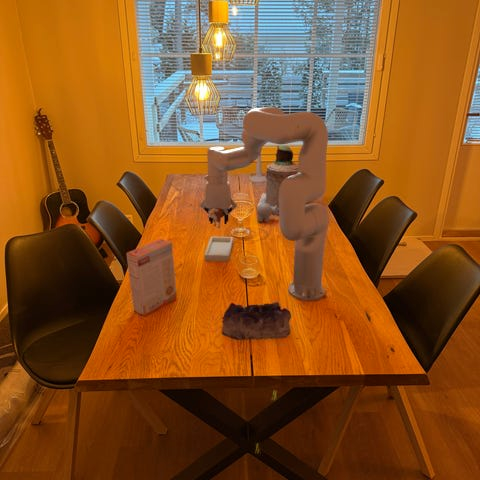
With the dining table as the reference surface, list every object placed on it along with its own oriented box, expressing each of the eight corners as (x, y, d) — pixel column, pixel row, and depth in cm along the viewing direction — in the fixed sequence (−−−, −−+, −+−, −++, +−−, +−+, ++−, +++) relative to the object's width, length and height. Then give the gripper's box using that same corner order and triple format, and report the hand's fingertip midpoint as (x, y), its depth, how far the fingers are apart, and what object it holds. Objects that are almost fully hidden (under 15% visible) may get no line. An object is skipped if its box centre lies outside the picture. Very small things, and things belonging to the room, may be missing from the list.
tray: (228, 261, 174) (228, 255, 173) (204, 260, 174) (204, 255, 173) (233, 242, 191) (233, 237, 190) (211, 241, 191) (211, 236, 190)
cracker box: (165, 293, 151) (160, 237, 143) (177, 299, 148) (173, 242, 139) (132, 310, 141) (125, 251, 133) (144, 317, 138) (138, 257, 129)
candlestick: (259, 176, 291) (260, 130, 279) (272, 180, 282) (274, 132, 270) (244, 179, 283) (244, 132, 271) (258, 183, 274) (258, 135, 262)
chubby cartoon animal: (282, 223, 211) (283, 206, 208) (256, 223, 212) (256, 206, 208) (281, 218, 218) (282, 201, 215) (256, 218, 219) (256, 201, 215)
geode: (224, 348, 124) (221, 315, 121) (220, 329, 135) (218, 299, 132) (294, 339, 126) (293, 307, 123) (285, 321, 137) (284, 292, 134)
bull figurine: (205, 229, 173) (205, 210, 170) (220, 218, 184) (220, 200, 181) (215, 231, 171) (215, 211, 168) (230, 220, 183) (230, 201, 179)
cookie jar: (304, 212, 226) (307, 150, 213) (256, 210, 229) (257, 149, 216) (305, 197, 248) (308, 140, 235) (261, 196, 251) (262, 139, 239)
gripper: (194, 181, 168) (196, 225, 175) (238, 182, 166) (239, 227, 174) (197, 176, 174) (199, 219, 182) (240, 177, 173) (240, 220, 180)
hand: (218, 222), depth 178 cm, fingers closed on bull figurine, 5 cm apart
